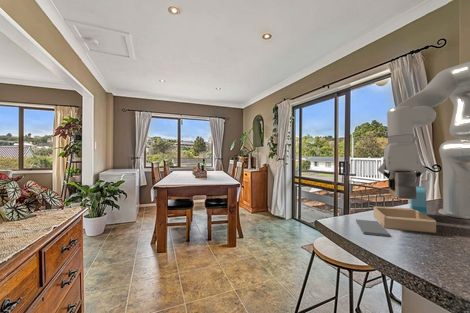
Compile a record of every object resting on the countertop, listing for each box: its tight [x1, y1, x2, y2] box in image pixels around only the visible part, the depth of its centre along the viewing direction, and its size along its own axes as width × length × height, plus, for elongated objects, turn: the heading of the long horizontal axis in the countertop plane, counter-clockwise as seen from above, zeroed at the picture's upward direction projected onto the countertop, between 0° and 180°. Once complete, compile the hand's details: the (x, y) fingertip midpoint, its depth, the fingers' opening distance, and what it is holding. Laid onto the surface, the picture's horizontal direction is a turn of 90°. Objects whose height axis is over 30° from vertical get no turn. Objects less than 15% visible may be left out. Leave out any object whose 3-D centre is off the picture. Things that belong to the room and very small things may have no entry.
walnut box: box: [388, 171, 417, 200], centre depth 78 cm, size 5×10×9 cm, turn 159°
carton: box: [373, 205, 438, 234], centre depth 77 cm, size 14×18×4 cm
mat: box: [355, 218, 390, 238], centre depth 73 cm, size 7×14×1 cm, turn 159°
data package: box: [409, 185, 428, 216], centre depth 87 cm, size 12×4×12 cm, turn 141°
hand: (401, 189), depth 78 cm, fingers closed on walnut box, 5 cm apart
